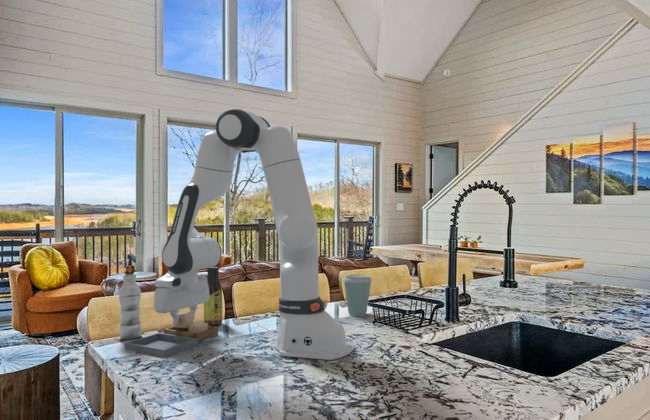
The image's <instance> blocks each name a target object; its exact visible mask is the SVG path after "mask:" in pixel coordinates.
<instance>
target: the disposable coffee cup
mask: <svg viewBox="0 0 650 420" xmlns="http://www.w3.org/2000/svg"><path fill="white" fill-rule="evenodd" d="M343 283H344V290H345V291H344V292H345V298H346V303H347V312H348V314H349V316H351V317H352V316H353V317H363V316H364V317H365V316H366V314H367V312H368V304H369V298H370V292H371V291H370V290H371V284H372V278H371V276H370V275H367V274H358V273H357V274H356V273H355V274H354V273H353V274H352V273H351V274H347V273H346V274H344V277H343Z"/></svg>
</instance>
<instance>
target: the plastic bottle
mask: <svg viewBox="0 0 650 420" xmlns="http://www.w3.org/2000/svg"><path fill="white" fill-rule="evenodd" d="M122 277H123V278H122V282H123V284H122V285H121V286H120V288H119V290H118V300H119V307H120V322H119V323H120V325H119V329H118V330H119V331H118V333H119V334H118V335H119V337H120V339H121V340H122V341H133V340H136V339H140V338H141V335H142V334H143V333H142V332H143V327H142V322H141V316H140V315H141V314H140V313H141V312H140V308H141V307H140V303H141V294H142V290H141V287H140V286H139V285H138V283H137V282H136V281H137V274H135V273H131V274H130V273H129V274H123V275H122Z"/></svg>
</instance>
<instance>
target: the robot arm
mask: <svg viewBox="0 0 650 420" xmlns="http://www.w3.org/2000/svg"><path fill="white" fill-rule="evenodd" d="M291 133H292V132H290V130H289V129H288V128H286V127H285V126H281V125H272V126H271V124H270V123H269V121H267V120H266V119H265V118H264V117H262V116H259V115H257V114H255V113H253V112H250V111H247V110H243V109H238V108H232V109H231V108H230V109H227V110H225V111H223V112H222V113H220V115H219V116H218V118H217V120H216V123H215V130H213V131H209V132H207V133H205V134H204V135H203V136H202V139H201V142H200V144H199V146H198V147H199V148H198V152H197V156H196V161H195V165H194V166H195V167H194V170H193V171H194V172H193V174H192V177H191V179H190V181H189V183H188V184H187V185H186V186H185V187H184V188H183V190H182V193H181V194H180V196H179V197H180V198H179V199H178V204H177V207H176V210H175V214H174V218H173V221H172V225H171V229H170V231H169V235H168V238H167V240H166V243H165V244H164V247H163V249H162V253H161V261H162V263H163V266H164V267H165V268H166V269H167V270H168V271H167V272H166V273H165V274H164V275H162V276H160V277H158V278H157V279H156V280H155V281H154V285H155V287H156V289H155V291H154V295H153V298H154V299H153V308H154V311H155V312H156V313H158V314H168V313H170V316H171V317H172V321H173V325H175V324H180V323H181V318H179V317H178V315H177V313H179V310H182V309H186V308H189V312H193V321H194V320H195V315H196V312H197V309H198V305H202V304H204V303H206V302H208V301H209V299H210V294H209V286H208V283H207V281H208V280H207V278H208V276H206V275H205V274H198V271H199V270H204V269H205V270H207V268H211V267H217V265H218V264H219V263H220V261H221V258H222V248H221V245H220V243H219V242H218V240H217V239H216V238H213V237H209V236H206V235H205V234H203V233H201V232H199V231H198V229H196V228H195V222H196V219H197V215H198V213H199V212H200V210H202V208H203V207H205V206H206V205H207V204H209V203H212V202H214V201H216V200H218V199H220V198H222V197H223V196H224V195H225V194H227V192H228V191H229V190H230V188H231V184H232V180H233V173H234V167H235V160H236V158H237V156H238V154H240V153H244V154H245V153H250V152H251V153H252V152H257V153H258V156H259V158H260V162H261V165H262V166H261V167H262V171H263V174H264V178H265V182H266V185H267V186H266V187H267V190H268V194H269V197H270V203H271V209H272V213H273V219H274V223H275V224H274V225H275V227H276V233H277V236H278V239H279V241H280V259H279V261H280V263H279V286H280V287H279V292H280V293H279V296H280V297H279V298H278V312H279V326H278V334H277V340H276V343H275V350H276V351H278V352H279V356H281V357H291V358H293V357H294V358H304V359H313V360H314V359H316V360H327V361H333V360H337V359H340V358H344V357H346V356H347V355H350V354H351V353H352V352H353V351H354V349H355V345H354V343H353V342H351V341H350V342H349V341H347V339H346V338H347V337H346V332H345V331H346V330H345V329H344V326H343V325H342V324H341V323H339V322H338V321H337V320H336V319H335V318H334V317H333V316H332V315H330V314H329V312H327V311H326V310H325V306H326V305H327V304H328V303H327V302H328V300H327V299H326V300H323V299H322V298H321V296H320V291H319V289H320V285H319V247H318V245H319V244H318V243H319V241H318V237H319V234H318V233H319V232H318V231H319V227H318V223H317V220H316V215H315V212H314V207H313V204H312V200H311V196H310V191H309V188H308V184H307V181H306V177H305V173H304V168H303V165H302V160H301V156H300V153H299V150H298V147H297V145H296V143H295V142H296V141H295V140H294V138H293V135H292V134H291Z"/></svg>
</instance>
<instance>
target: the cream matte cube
mask: <svg viewBox="0 0 650 420" xmlns="http://www.w3.org/2000/svg"><path fill="white" fill-rule="evenodd" d="M208 326H209V325H208V323H204V322H200V321H196V322H193V324H190V325H189V332H190V333H196V334H198V333H201V332H204V331H207V330H208Z"/></svg>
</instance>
